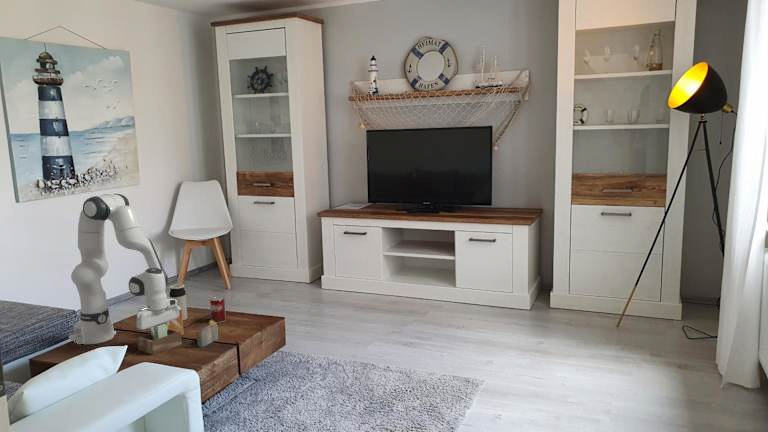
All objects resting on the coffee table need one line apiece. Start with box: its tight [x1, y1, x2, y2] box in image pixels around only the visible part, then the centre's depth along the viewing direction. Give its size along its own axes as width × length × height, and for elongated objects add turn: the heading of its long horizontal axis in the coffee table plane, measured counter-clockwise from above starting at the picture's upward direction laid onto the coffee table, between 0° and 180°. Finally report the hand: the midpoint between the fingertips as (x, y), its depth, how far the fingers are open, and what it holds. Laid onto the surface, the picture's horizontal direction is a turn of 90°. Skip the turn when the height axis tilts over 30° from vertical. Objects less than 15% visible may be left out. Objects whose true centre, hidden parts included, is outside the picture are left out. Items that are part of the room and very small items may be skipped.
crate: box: [136, 328, 183, 356], centre depth 268 cm, size 11×15×6 cm
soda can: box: [209, 296, 227, 324], centre depth 302 cm, size 7×7×12 cm
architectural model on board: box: [196, 319, 219, 348], centre depth 272 cm, size 11×3×10 cm, turn 157°
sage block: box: [153, 323, 167, 340], centre depth 267 cm, size 4×4×7 cm
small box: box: [163, 306, 185, 336], centre depth 283 cm, size 8×6×13 cm
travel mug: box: [168, 283, 188, 322], centre depth 305 cm, size 8×8×18 cm
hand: (159, 333), depth 268 cm, fingers closed on sage block, 4 cm apart
